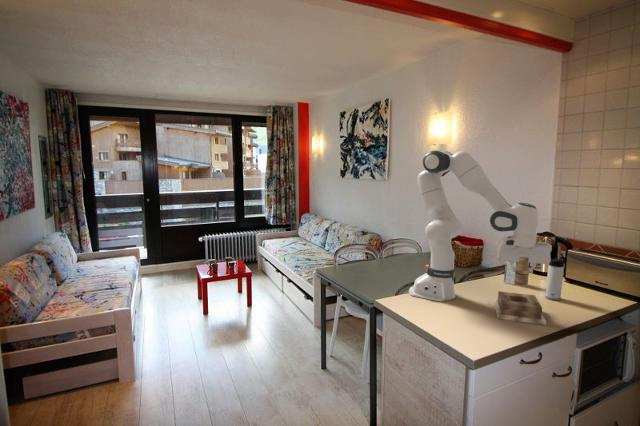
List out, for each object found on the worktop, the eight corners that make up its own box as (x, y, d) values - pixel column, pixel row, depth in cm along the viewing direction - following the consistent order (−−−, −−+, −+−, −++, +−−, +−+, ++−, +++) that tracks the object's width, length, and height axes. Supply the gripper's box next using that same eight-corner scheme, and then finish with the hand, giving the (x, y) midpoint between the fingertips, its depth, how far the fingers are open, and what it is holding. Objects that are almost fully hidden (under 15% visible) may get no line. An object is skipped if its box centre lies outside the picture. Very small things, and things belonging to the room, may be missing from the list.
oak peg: (515, 284, 159) (517, 257, 157) (513, 280, 164) (515, 254, 162) (529, 285, 157) (531, 258, 155) (526, 282, 162) (528, 255, 160)
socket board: (497, 318, 157) (498, 304, 156) (493, 302, 174) (494, 289, 173) (545, 324, 151) (547, 310, 150) (536, 308, 168) (538, 294, 167)
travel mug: (554, 301, 176) (558, 261, 173) (542, 296, 182) (546, 257, 179) (564, 300, 177) (568, 260, 174) (552, 295, 184) (556, 256, 181)
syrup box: (508, 280, 206) (510, 255, 204) (519, 283, 201) (521, 257, 199) (503, 282, 202) (505, 257, 200) (514, 285, 198) (516, 259, 195)
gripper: (550, 240, 157) (547, 272, 159) (497, 237, 164) (495, 267, 166) (554, 244, 151) (551, 276, 153) (499, 240, 158) (497, 271, 160)
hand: (522, 271), depth 160 cm, fingers closed on oak peg, 5 cm apart
